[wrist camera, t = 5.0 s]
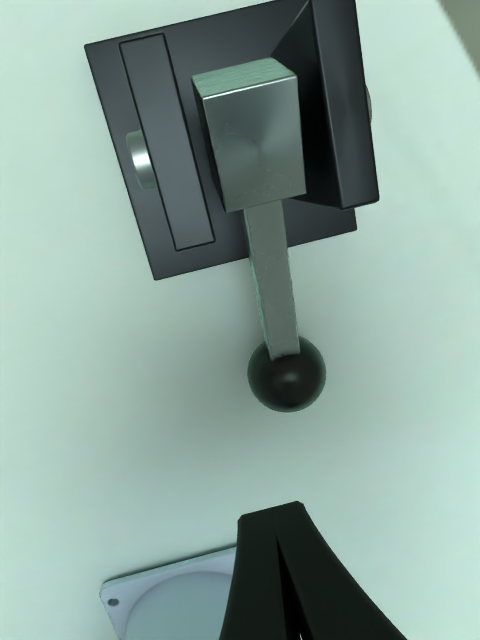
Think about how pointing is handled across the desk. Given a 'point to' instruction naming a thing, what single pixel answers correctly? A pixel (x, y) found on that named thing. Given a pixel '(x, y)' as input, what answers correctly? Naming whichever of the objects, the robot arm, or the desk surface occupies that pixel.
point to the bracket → (187, 138)
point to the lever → (263, 211)
